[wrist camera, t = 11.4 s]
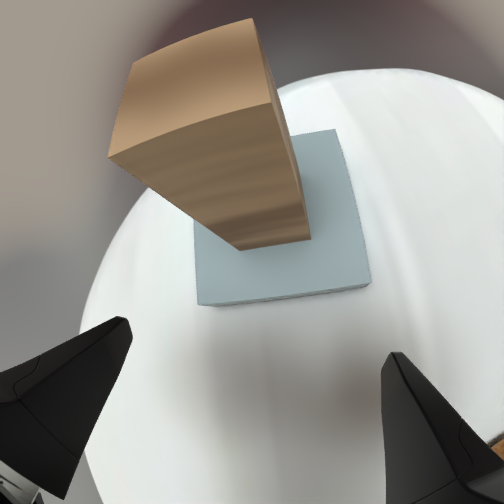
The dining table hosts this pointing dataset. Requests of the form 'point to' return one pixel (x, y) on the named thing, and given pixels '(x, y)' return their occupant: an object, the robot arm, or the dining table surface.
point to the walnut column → (214, 137)
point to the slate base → (297, 253)
